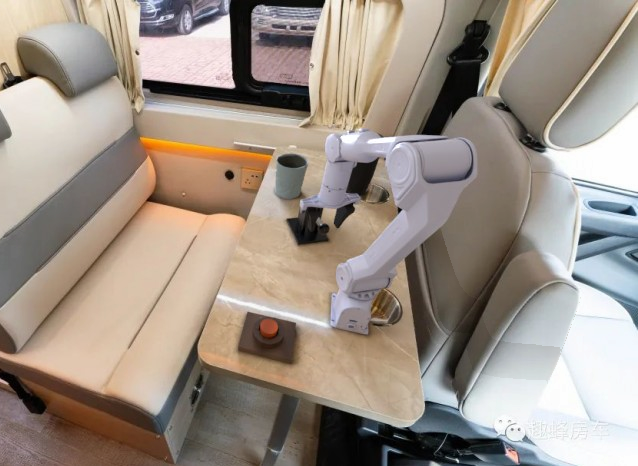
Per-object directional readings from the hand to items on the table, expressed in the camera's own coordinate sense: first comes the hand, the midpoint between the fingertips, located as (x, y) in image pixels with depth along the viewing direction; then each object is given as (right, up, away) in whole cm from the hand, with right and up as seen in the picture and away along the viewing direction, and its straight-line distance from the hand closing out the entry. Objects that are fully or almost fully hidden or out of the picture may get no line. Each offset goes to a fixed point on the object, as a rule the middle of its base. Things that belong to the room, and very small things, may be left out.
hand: (323, 227), depth 85 cm
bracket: (-1, -1, +12) cm, 12 cm away
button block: (-17, -24, -14) cm, 33 cm away
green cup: (-4, +13, +28) cm, 31 cm away
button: (-17, -22, -16) cm, 32 cm away
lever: (-1, +1, +4) cm, 4 cm away
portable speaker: (+19, +13, +28) cm, 37 cm away
